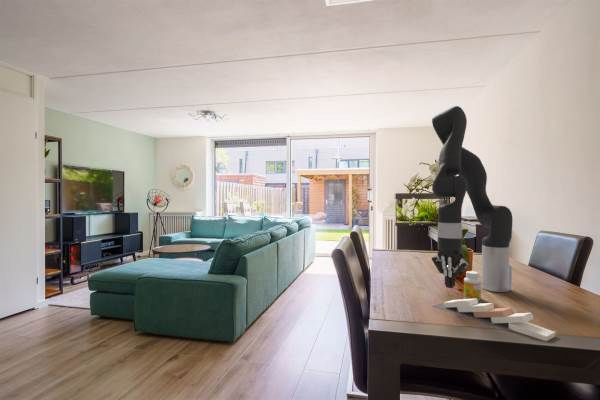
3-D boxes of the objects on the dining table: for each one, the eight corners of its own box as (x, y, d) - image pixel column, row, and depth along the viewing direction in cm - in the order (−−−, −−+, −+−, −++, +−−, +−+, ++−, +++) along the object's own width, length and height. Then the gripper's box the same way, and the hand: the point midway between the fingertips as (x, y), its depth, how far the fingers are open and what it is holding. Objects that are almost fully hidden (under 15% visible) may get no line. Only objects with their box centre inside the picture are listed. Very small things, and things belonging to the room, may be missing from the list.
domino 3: (473, 311, 99) (502, 311, 91) (482, 308, 101) (511, 307, 94) (474, 317, 98) (504, 316, 91) (483, 314, 101) (513, 313, 94)
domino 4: (490, 317, 94) (522, 316, 87) (499, 314, 97) (531, 312, 89) (492, 323, 94) (524, 322, 86) (501, 319, 96) (533, 318, 89)
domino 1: (443, 302, 107) (467, 301, 100) (452, 300, 110) (476, 298, 103) (444, 307, 107) (469, 306, 100) (453, 304, 110) (478, 303, 102)
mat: (432, 307, 109) (432, 306, 109) (448, 302, 113) (448, 301, 113) (508, 333, 88) (508, 331, 88) (524, 325, 93) (524, 324, 93)
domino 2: (456, 307, 103) (483, 306, 96) (466, 304, 106) (492, 302, 98) (458, 312, 103) (485, 311, 95) (467, 309, 105) (494, 308, 98)
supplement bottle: (460, 297, 119) (460, 270, 119) (474, 296, 119) (474, 270, 119) (469, 301, 114) (469, 274, 113) (484, 301, 114) (484, 273, 114)
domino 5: (508, 322, 90) (546, 336, 82) (517, 319, 92) (555, 331, 85) (508, 328, 90) (546, 342, 82) (517, 324, 93) (555, 337, 85)
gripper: (425, 234, 111) (425, 284, 112) (461, 239, 100) (461, 294, 100) (439, 233, 115) (439, 281, 115) (475, 237, 104) (475, 290, 104)
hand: (450, 287), depth 108 cm, fingers closed
